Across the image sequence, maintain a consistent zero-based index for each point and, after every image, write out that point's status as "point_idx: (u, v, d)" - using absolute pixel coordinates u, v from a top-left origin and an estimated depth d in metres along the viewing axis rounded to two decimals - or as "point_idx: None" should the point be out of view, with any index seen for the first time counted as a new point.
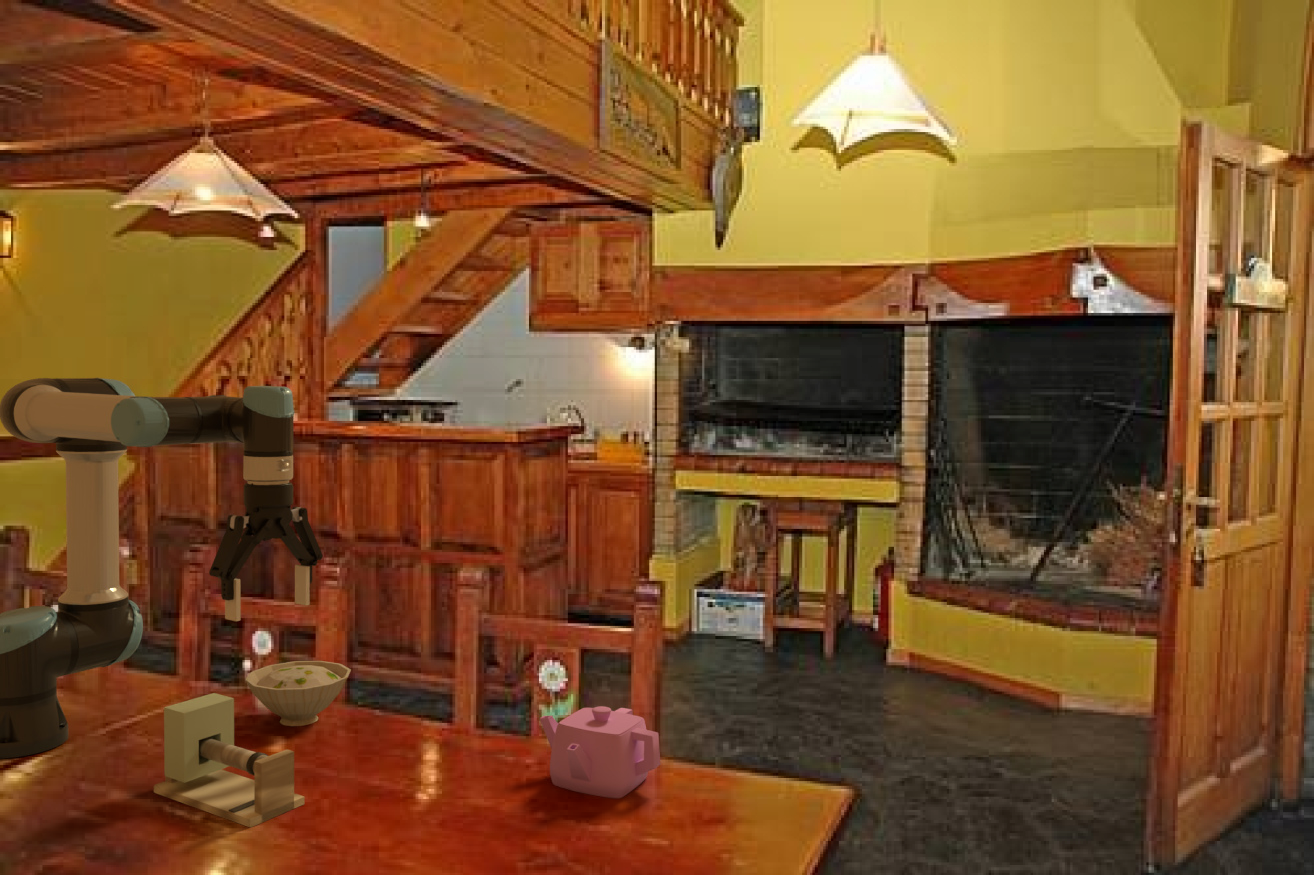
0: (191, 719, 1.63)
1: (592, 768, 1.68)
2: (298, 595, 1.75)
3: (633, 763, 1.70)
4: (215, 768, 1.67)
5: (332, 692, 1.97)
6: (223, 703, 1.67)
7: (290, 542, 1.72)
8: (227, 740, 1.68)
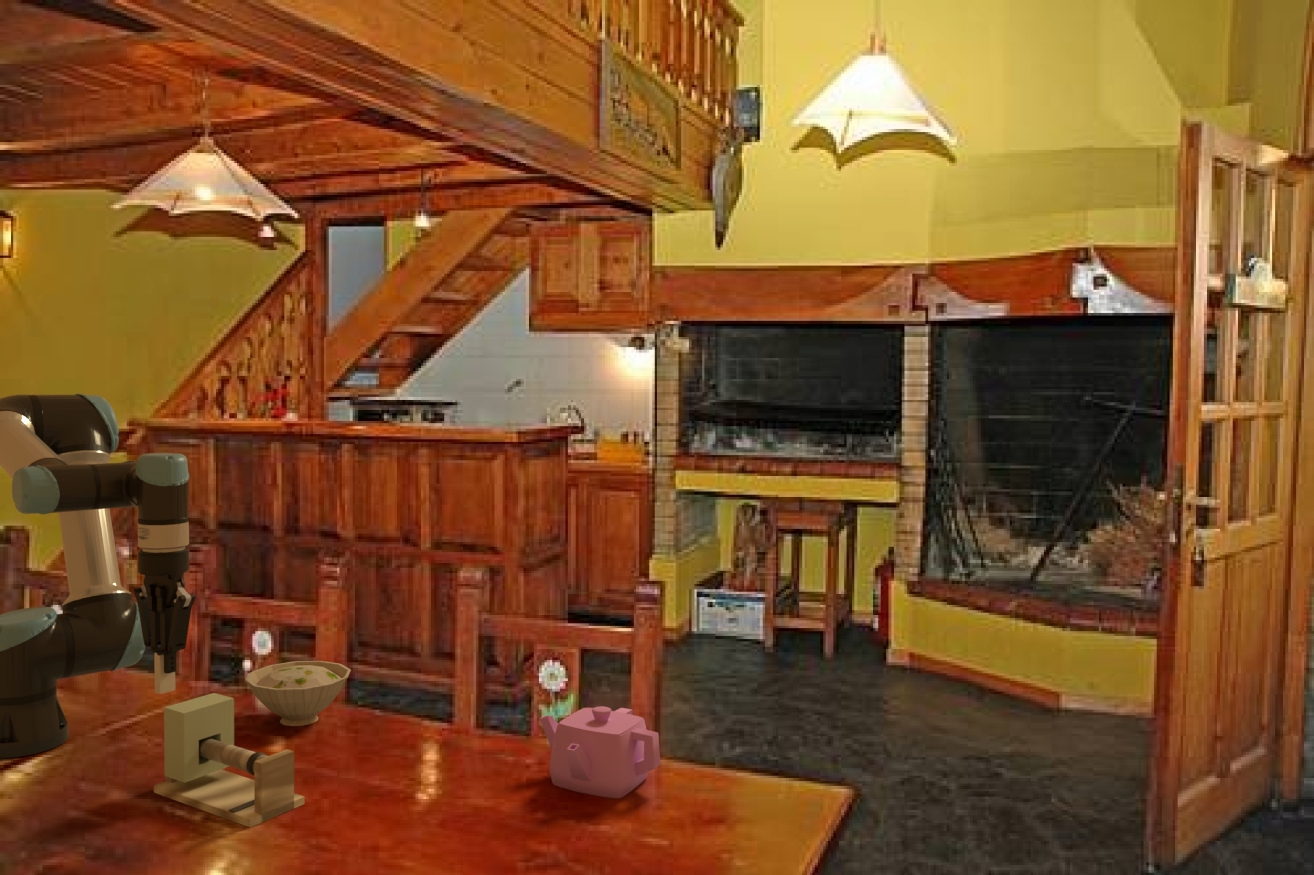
0: (191, 719, 1.63)
1: (592, 768, 1.68)
2: None
3: (633, 763, 1.70)
4: (215, 768, 1.67)
5: (332, 692, 1.97)
6: (223, 703, 1.67)
7: None
8: (227, 740, 1.68)
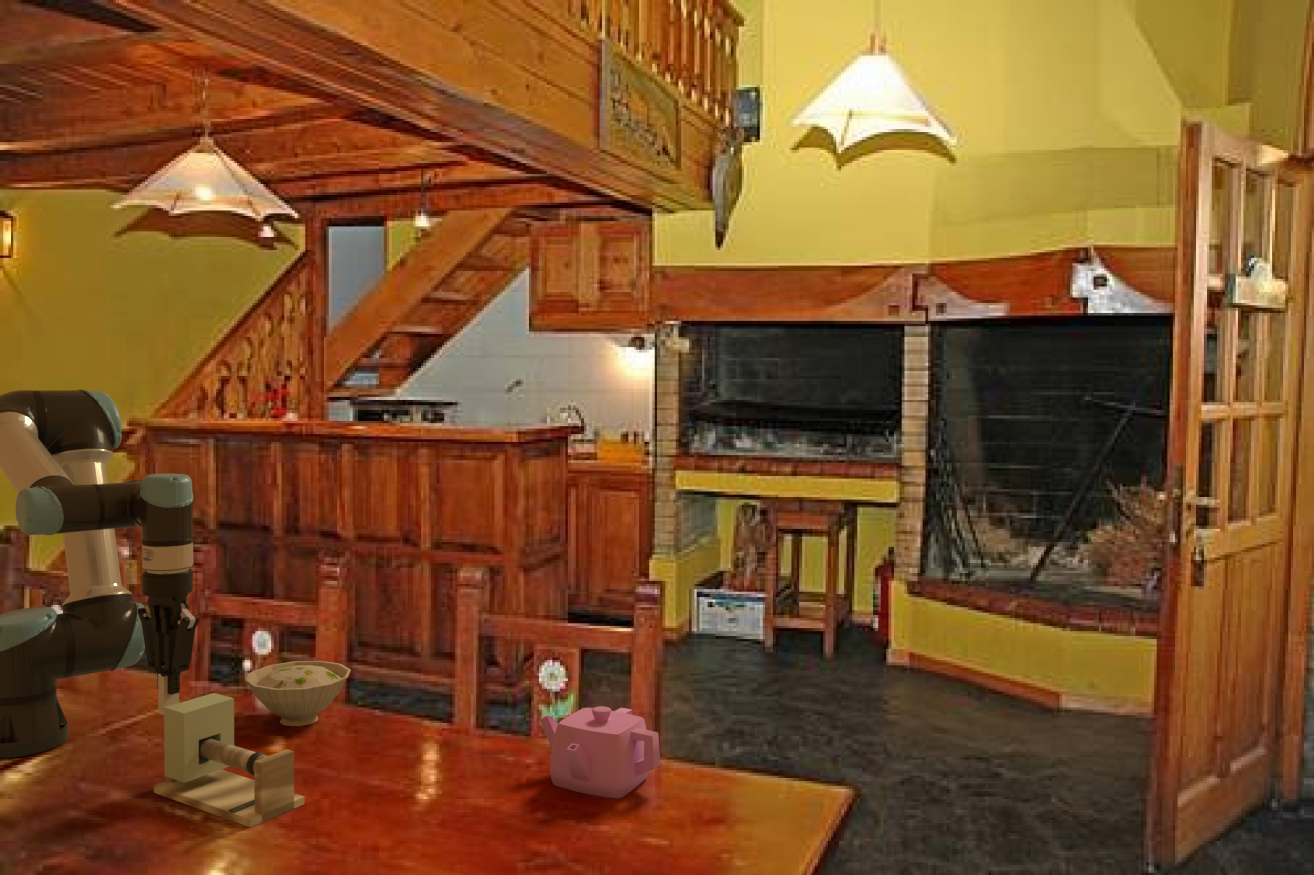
0: (191, 719, 1.63)
1: (592, 768, 1.68)
2: None
3: (633, 763, 1.70)
4: (215, 768, 1.67)
5: (332, 692, 1.97)
6: (223, 703, 1.67)
7: None
8: (227, 740, 1.68)
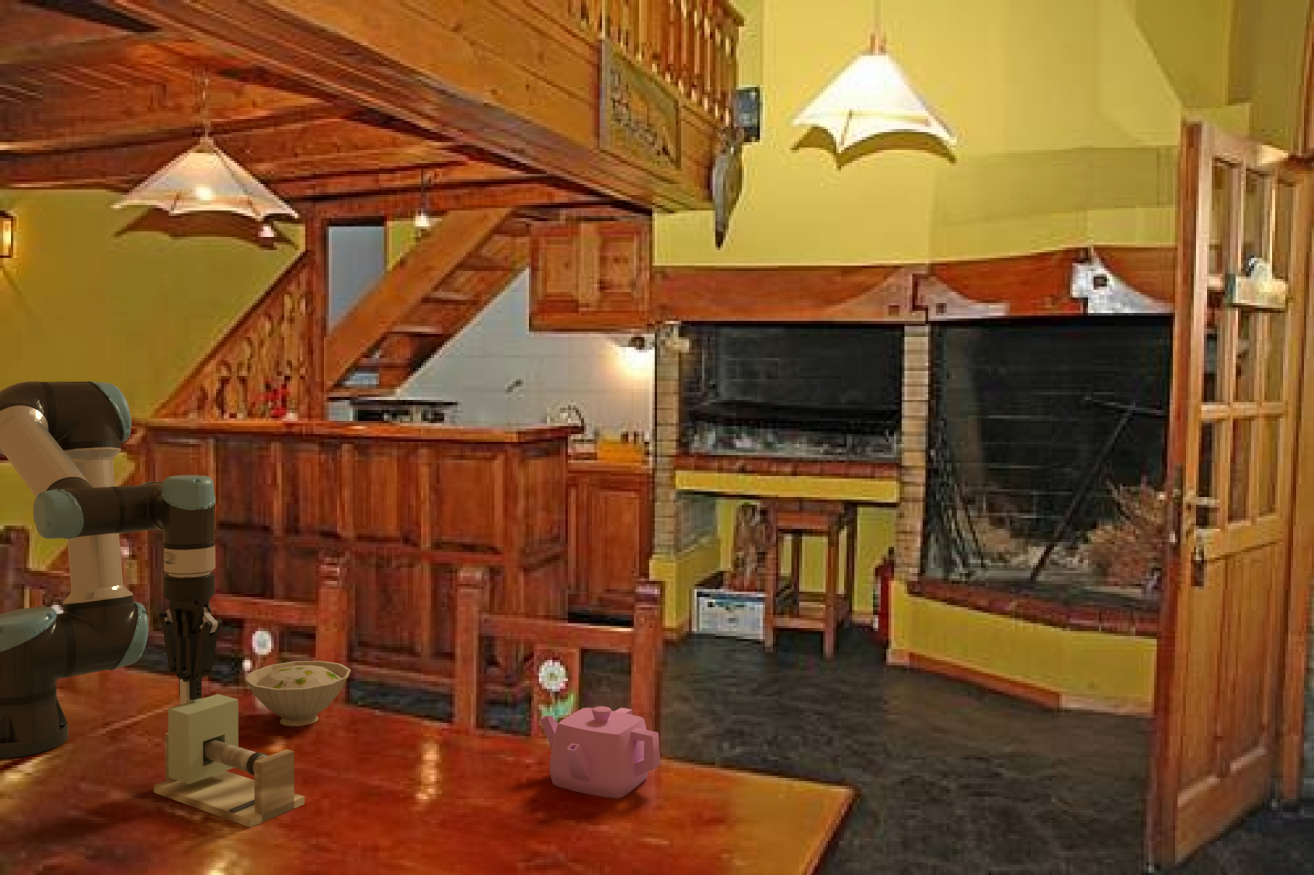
0: (195, 721, 1.62)
1: (592, 768, 1.68)
2: None
3: (633, 763, 1.70)
4: (219, 769, 1.66)
5: (332, 692, 1.97)
6: (227, 705, 1.67)
7: None
8: (231, 741, 1.68)
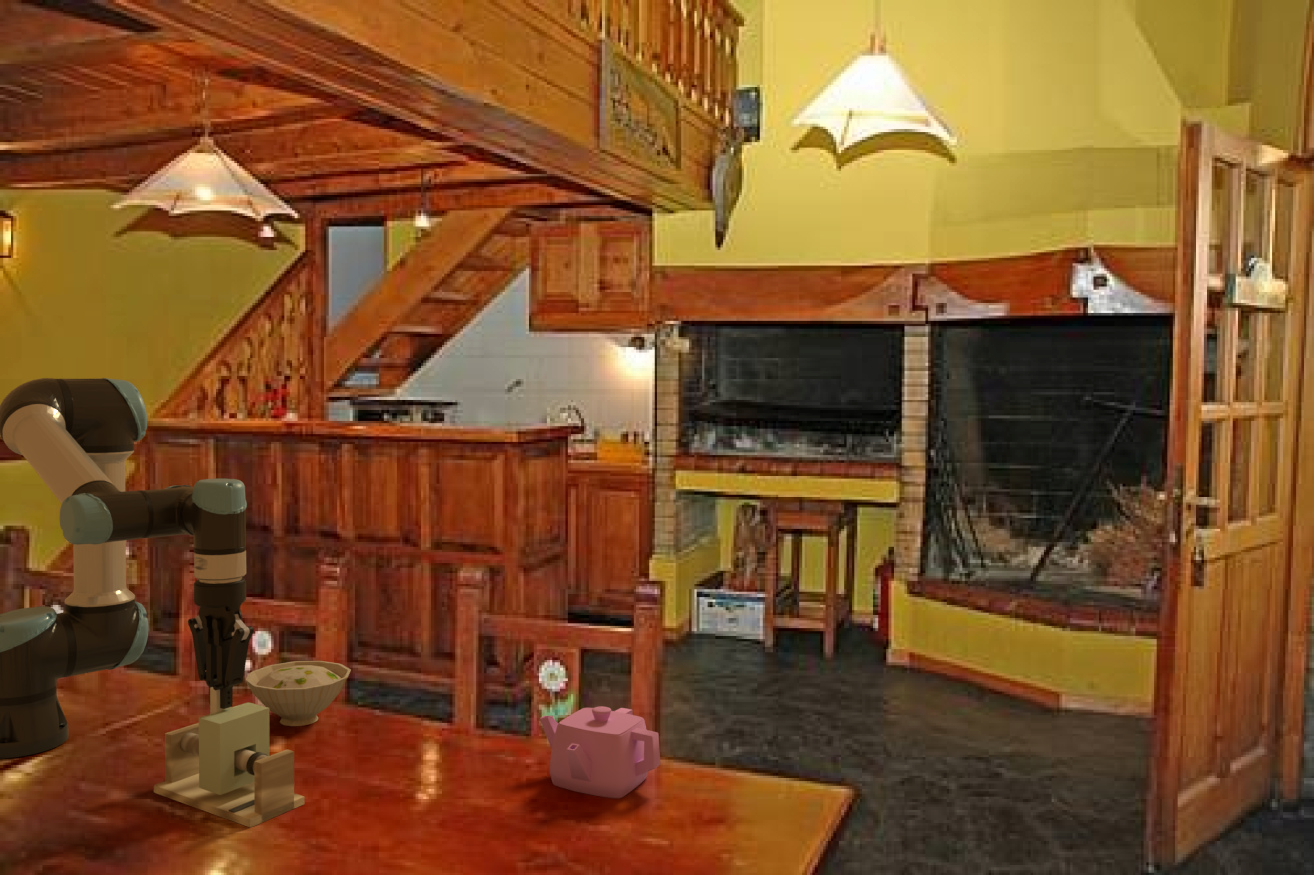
0: (226, 730, 1.58)
1: (592, 768, 1.68)
2: None
3: (633, 763, 1.70)
4: (250, 780, 1.62)
5: (332, 692, 1.97)
6: (258, 713, 1.63)
7: None
8: (262, 751, 1.64)
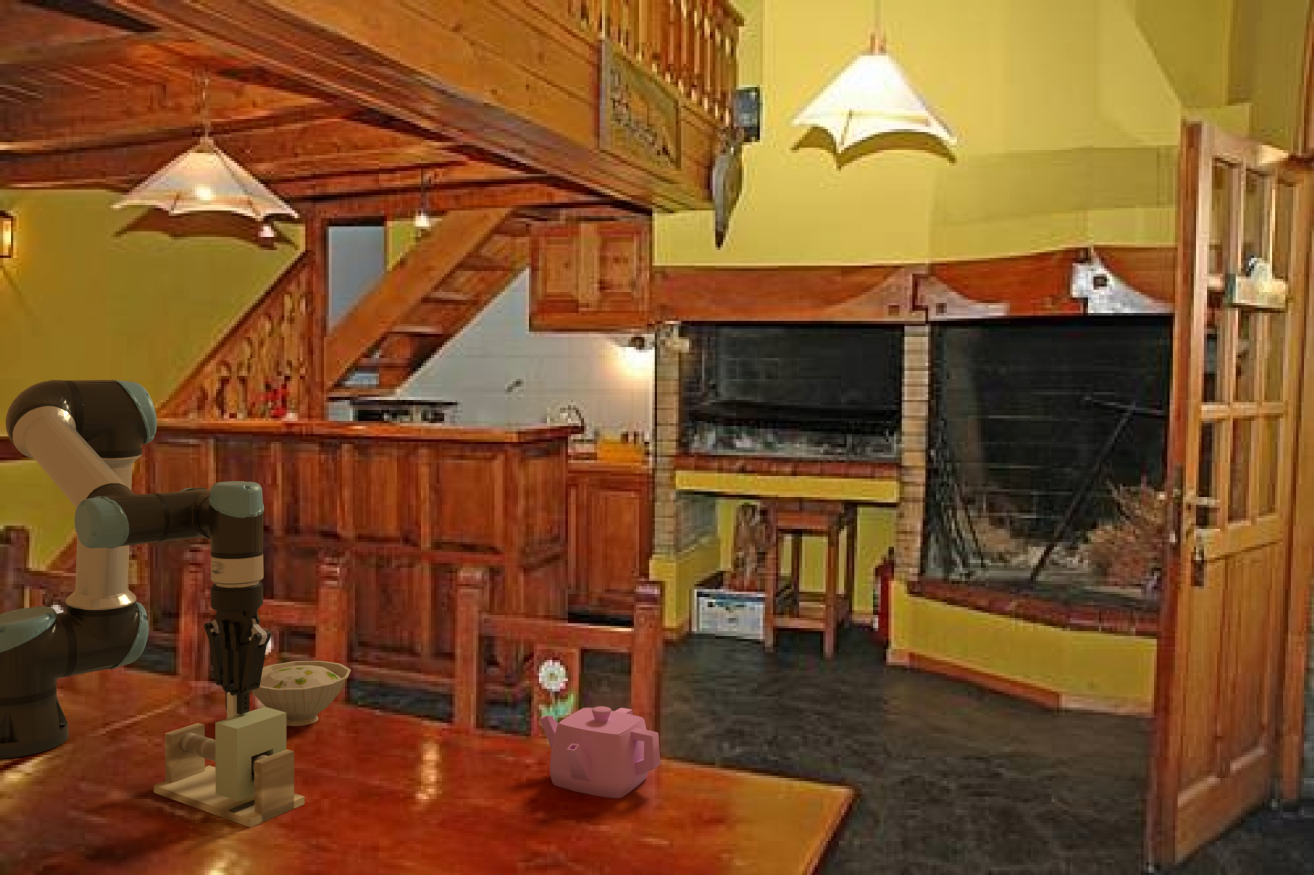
0: (244, 735, 1.56)
1: (592, 768, 1.68)
2: None
3: (633, 763, 1.70)
4: None
5: (332, 692, 1.97)
6: (275, 718, 1.61)
7: None
8: None
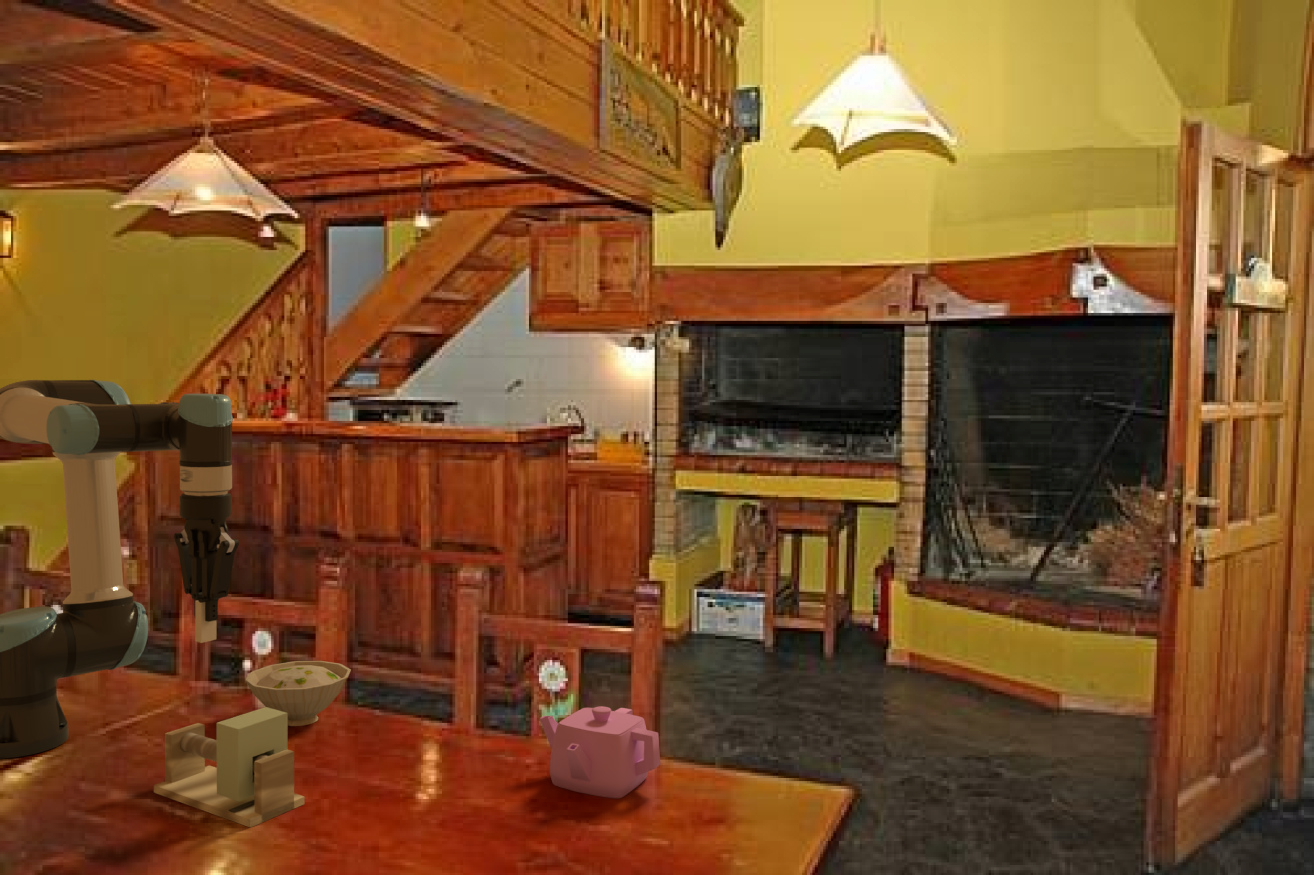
0: (245, 735, 1.56)
1: (592, 768, 1.68)
2: None
3: (633, 763, 1.70)
4: None
5: (332, 692, 1.97)
6: (277, 718, 1.61)
7: None
8: None
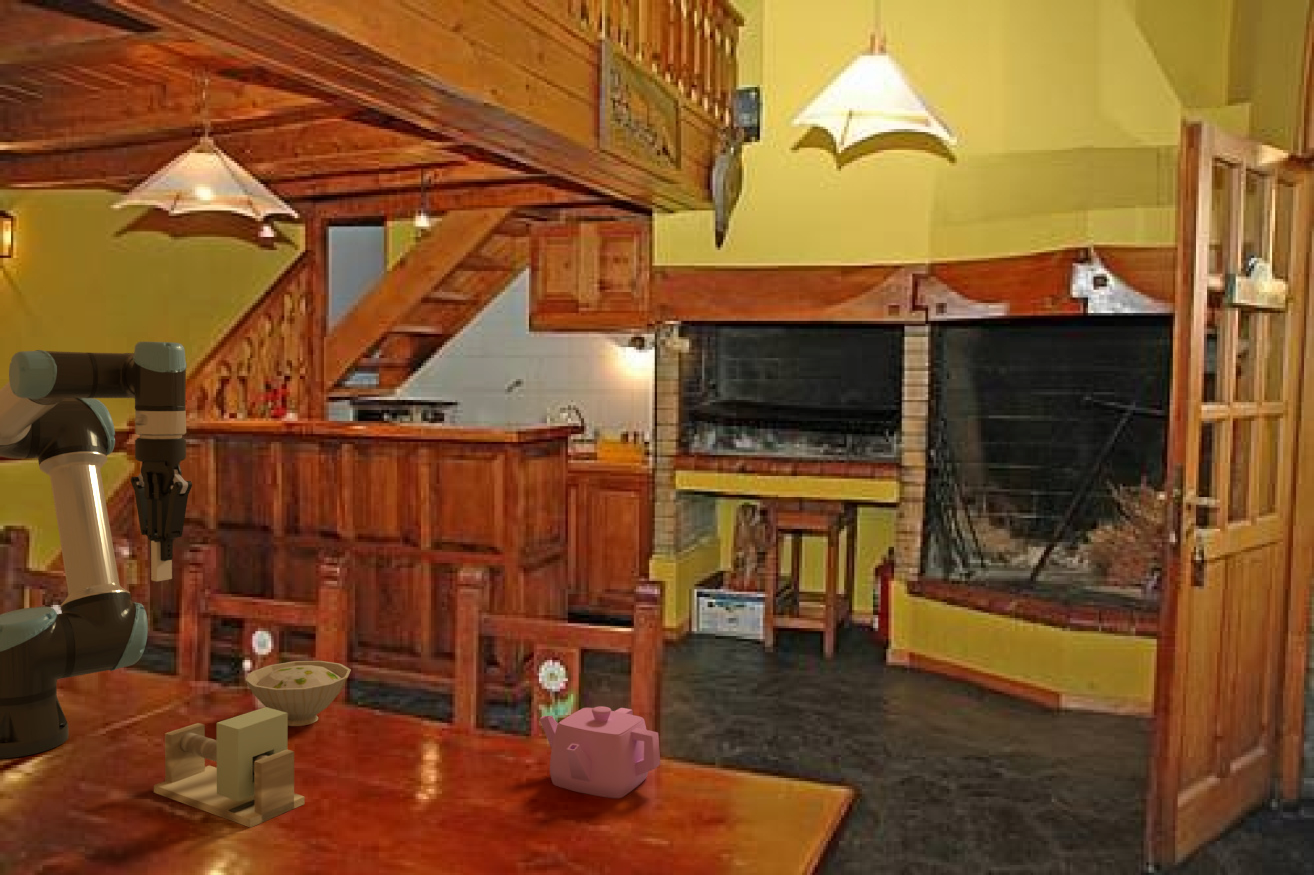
0: (245, 735, 1.56)
1: (592, 768, 1.68)
2: None
3: (633, 763, 1.70)
4: None
5: (332, 692, 1.97)
6: (277, 718, 1.61)
7: None
8: None
